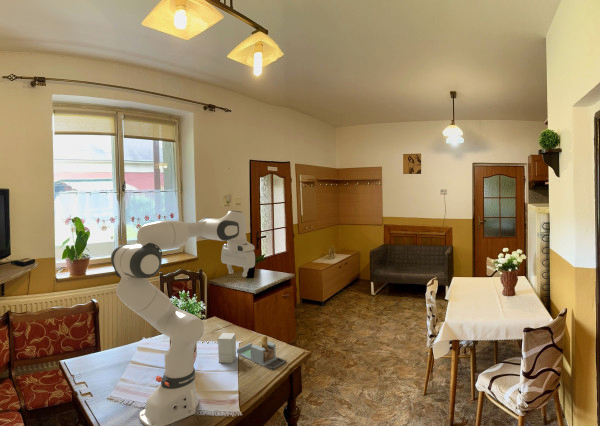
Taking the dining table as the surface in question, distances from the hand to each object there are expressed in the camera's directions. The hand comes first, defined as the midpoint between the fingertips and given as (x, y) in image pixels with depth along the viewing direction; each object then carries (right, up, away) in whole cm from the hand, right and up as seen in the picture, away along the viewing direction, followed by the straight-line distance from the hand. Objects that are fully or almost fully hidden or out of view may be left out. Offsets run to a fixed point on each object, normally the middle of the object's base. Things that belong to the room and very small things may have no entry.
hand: (237, 274), depth 166 cm
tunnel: (+9, -46, +19) cm, 51 cm away
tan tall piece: (+11, -46, +17) cm, 50 cm away
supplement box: (-8, -47, +18) cm, 51 cm away
